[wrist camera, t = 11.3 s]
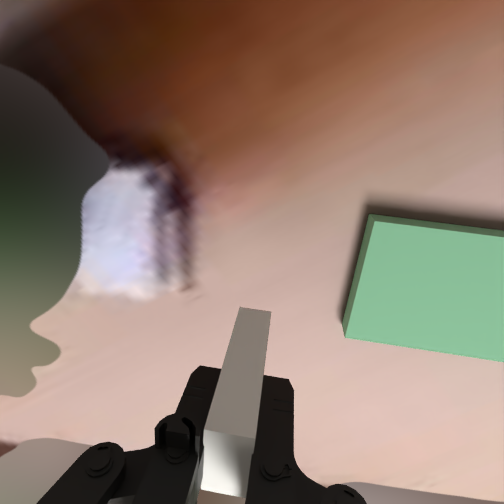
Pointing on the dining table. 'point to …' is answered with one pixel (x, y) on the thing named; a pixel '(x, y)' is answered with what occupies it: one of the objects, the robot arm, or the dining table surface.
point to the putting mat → (429, 287)
